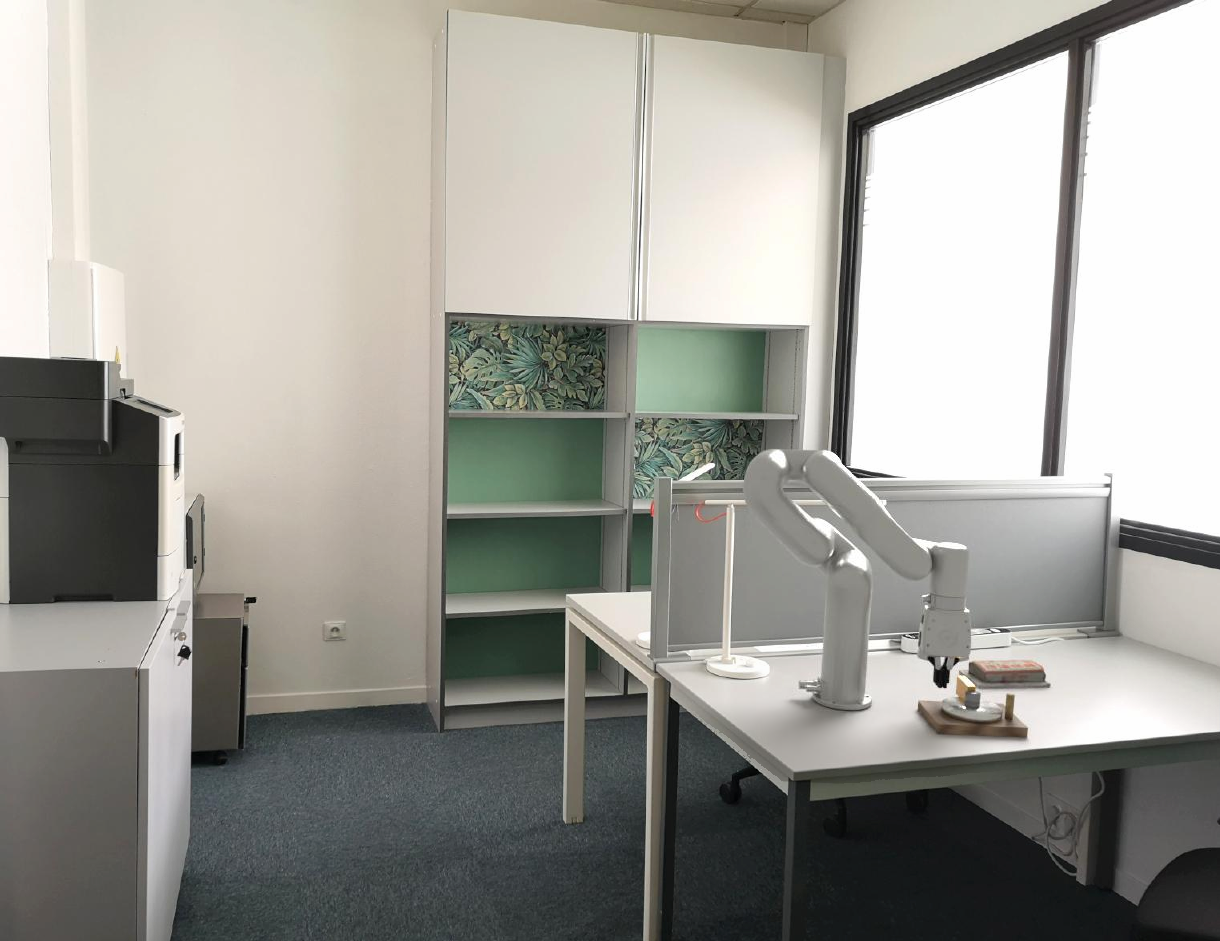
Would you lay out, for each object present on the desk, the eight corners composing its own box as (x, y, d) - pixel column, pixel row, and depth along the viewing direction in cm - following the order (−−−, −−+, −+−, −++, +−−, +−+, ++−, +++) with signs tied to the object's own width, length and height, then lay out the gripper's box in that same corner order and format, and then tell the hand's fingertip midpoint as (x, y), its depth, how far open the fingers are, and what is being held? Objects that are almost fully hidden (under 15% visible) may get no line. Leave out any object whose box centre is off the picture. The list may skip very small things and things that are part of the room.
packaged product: (1029, 655, 250) (1052, 668, 241) (1027, 675, 251) (1050, 688, 241) (959, 656, 248) (980, 669, 238) (957, 676, 248) (978, 690, 238)
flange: (1011, 723, 209) (1013, 698, 209) (951, 721, 209) (953, 696, 209) (987, 700, 223) (989, 676, 222) (931, 697, 223) (932, 674, 223)
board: (937, 733, 209) (939, 699, 208) (917, 709, 222) (920, 677, 222) (1027, 737, 208) (1030, 703, 208) (1001, 712, 222) (1004, 681, 221)
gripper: (915, 605, 215) (909, 690, 217) (988, 607, 215) (981, 693, 217) (906, 596, 222) (900, 679, 225) (976, 598, 222) (970, 681, 224)
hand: (940, 686), depth 221 cm, fingers closed
